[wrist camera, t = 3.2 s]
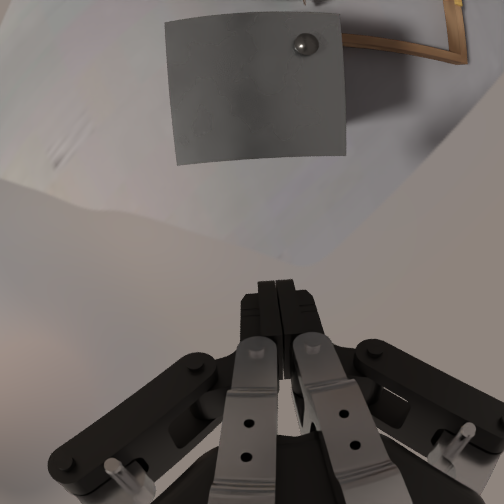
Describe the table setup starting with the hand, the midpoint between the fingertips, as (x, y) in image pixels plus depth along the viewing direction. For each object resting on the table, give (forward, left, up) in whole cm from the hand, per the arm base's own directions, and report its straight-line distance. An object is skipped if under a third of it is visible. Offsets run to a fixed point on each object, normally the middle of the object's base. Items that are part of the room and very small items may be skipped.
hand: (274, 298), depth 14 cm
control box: (-9, 0, -16) cm, 19 cm away
